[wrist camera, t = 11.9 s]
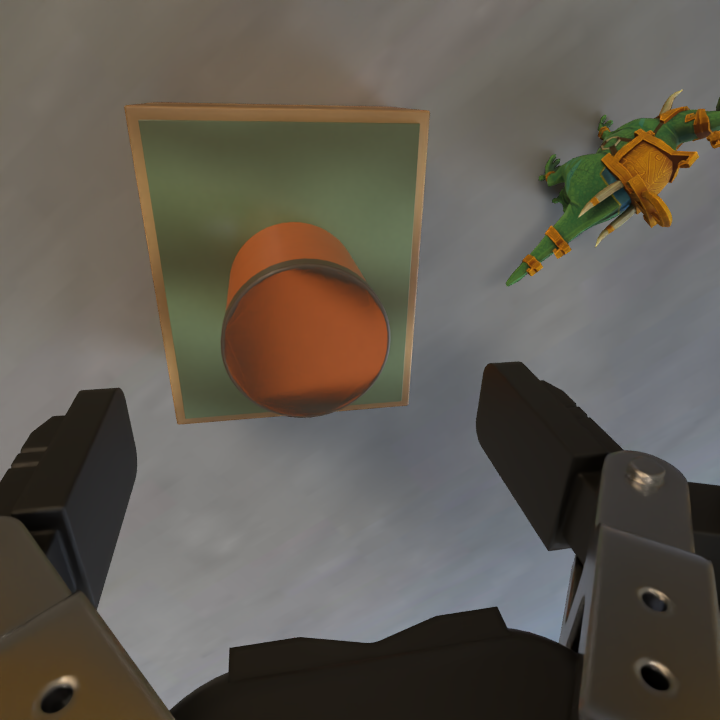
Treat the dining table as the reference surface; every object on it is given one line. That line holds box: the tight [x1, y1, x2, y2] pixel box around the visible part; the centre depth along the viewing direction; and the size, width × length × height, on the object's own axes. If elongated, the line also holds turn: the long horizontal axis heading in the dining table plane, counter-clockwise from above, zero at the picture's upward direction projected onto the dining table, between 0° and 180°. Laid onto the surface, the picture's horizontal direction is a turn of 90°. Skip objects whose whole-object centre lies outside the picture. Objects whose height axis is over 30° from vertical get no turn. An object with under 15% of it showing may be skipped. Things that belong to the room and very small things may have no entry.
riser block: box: [124, 102, 430, 424], centre depth 22 cm, size 12×10×6 cm
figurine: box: [506, 90, 720, 286], centre depth 23 cm, size 3×12×8 cm, turn 130°
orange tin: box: [220, 222, 390, 418], centre depth 17 cm, size 5×5×5 cm
